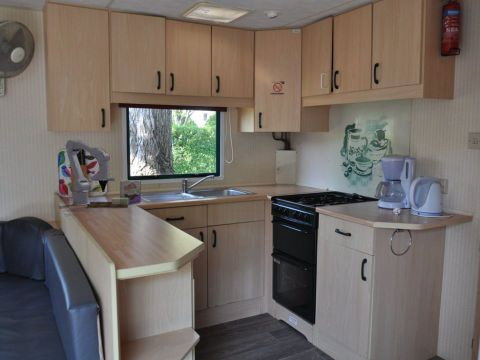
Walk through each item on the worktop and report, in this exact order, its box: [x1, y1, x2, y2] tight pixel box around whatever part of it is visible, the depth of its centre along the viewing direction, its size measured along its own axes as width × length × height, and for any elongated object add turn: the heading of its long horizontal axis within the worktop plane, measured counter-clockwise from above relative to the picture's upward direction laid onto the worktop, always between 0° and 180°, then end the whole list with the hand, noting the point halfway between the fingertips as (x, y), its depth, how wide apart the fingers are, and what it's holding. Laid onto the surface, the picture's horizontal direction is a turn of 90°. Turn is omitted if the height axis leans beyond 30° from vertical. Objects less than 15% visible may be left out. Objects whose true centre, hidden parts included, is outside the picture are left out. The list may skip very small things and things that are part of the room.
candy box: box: [119, 179, 142, 203], centre depth 301 cm, size 14×6×16 cm, turn 105°
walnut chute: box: [86, 201, 130, 208], centre depth 282 cm, size 25×13×3 cm, turn 100°
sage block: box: [119, 197, 128, 204], centre depth 283 cm, size 5×6×5 cm
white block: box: [111, 197, 120, 204], centre depth 282 cm, size 5×6×5 cm
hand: (103, 191), depth 283 cm, fingers closed
